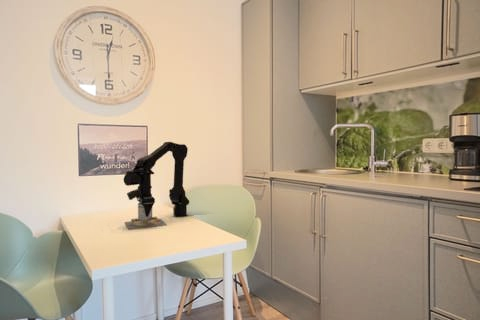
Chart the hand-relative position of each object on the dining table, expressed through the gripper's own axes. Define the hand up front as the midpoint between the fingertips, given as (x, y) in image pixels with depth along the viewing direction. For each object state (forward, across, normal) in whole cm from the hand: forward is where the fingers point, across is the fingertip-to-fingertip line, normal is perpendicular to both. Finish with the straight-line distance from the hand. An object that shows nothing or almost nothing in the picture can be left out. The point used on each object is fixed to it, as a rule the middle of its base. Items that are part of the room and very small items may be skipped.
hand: (145, 215), depth 163 cm
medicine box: (+2, 0, 0) cm, 2 cm away
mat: (+5, 0, 0) cm, 5 cm away
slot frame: (+5, 0, 0) cm, 5 cm away
